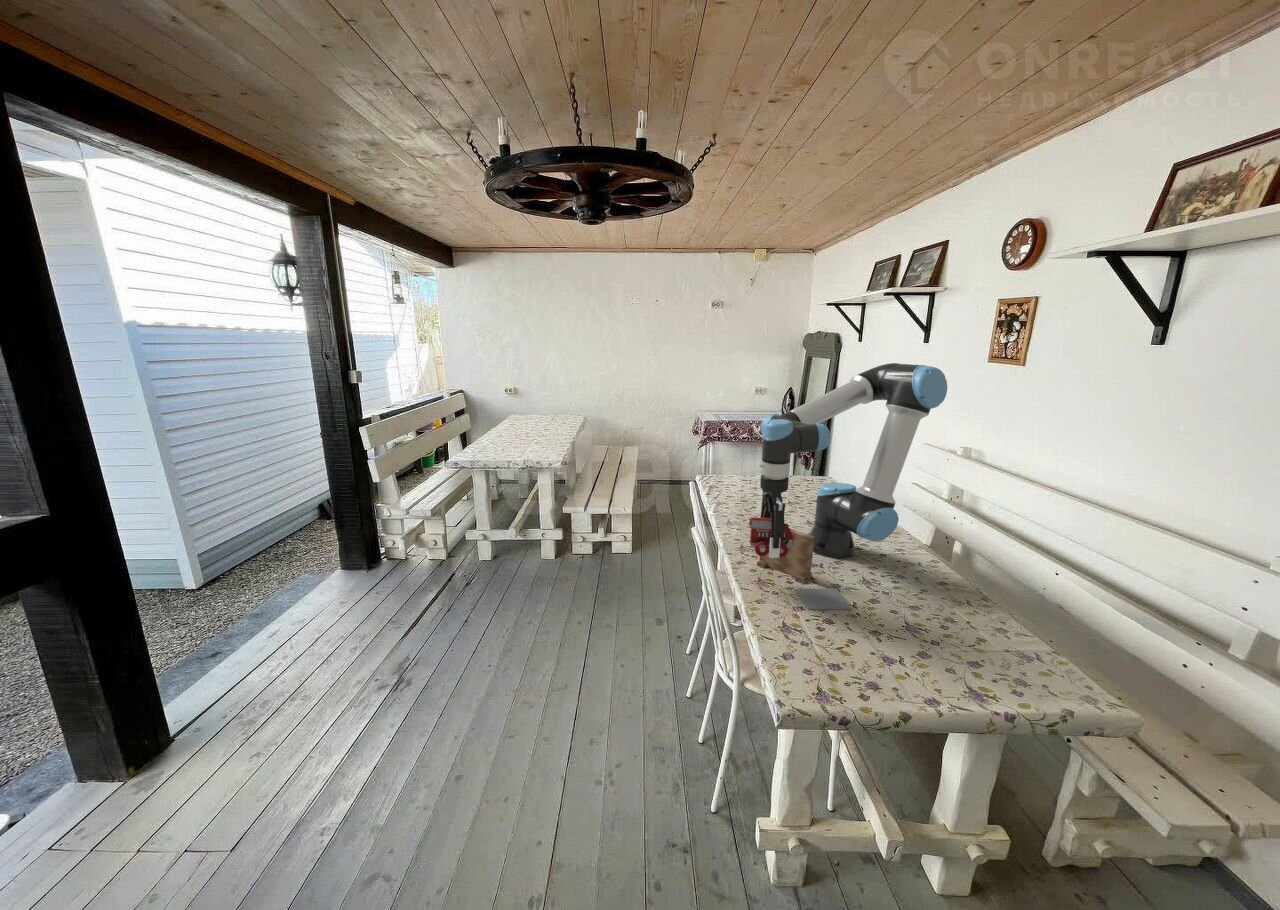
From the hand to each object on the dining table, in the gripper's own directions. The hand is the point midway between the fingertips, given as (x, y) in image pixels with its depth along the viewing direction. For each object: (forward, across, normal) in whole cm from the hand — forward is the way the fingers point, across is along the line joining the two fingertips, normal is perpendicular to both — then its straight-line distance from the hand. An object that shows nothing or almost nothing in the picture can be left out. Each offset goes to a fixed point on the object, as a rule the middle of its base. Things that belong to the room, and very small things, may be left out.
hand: (770, 550), depth 135 cm
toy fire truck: (+1, 0, 0) cm, 1 cm away
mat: (+11, +8, +13) cm, 19 cm away
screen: (+11, -8, +7) cm, 15 cm away
